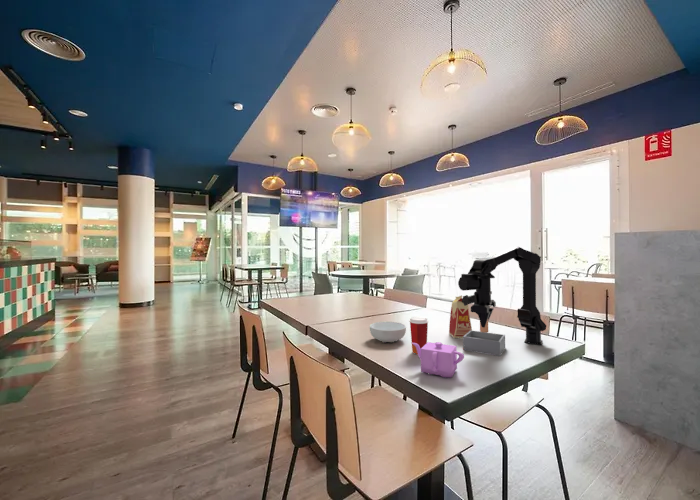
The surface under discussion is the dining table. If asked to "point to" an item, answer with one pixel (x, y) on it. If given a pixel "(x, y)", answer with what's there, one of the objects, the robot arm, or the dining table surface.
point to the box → (484, 342)
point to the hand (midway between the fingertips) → (484, 326)
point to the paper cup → (418, 331)
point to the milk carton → (459, 319)
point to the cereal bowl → (387, 331)
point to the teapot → (439, 358)
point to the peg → (484, 329)
